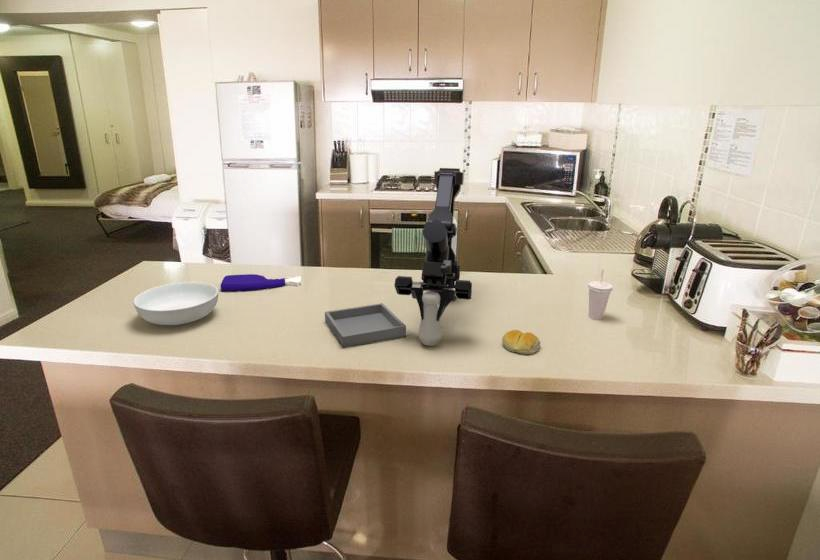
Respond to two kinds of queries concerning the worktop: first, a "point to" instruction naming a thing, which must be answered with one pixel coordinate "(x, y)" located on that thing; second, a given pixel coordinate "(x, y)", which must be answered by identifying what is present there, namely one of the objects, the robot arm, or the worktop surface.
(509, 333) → the bread roll
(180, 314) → the serving bowl
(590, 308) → the smoothie
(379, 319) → the tray
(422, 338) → the salt shaker
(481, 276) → the worktop surface
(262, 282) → the spray bottle
